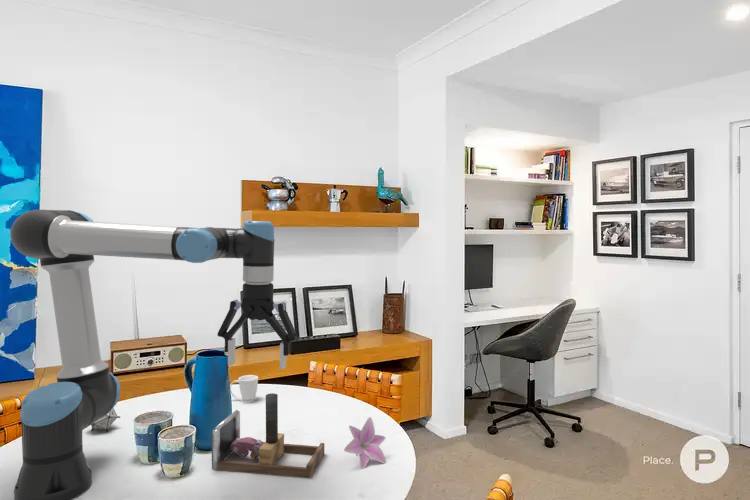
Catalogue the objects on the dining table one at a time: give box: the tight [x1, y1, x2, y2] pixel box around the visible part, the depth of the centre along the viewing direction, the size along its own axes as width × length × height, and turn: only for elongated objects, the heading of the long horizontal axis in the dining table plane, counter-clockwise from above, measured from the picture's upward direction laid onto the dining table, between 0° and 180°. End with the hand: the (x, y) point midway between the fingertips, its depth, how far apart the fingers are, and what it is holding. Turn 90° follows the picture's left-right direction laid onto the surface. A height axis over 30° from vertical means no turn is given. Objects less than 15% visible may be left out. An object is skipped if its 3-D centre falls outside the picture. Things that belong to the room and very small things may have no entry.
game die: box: [90, 407, 121, 433], centre depth 152 cm, size 9×8×10 cm
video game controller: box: [230, 436, 265, 460], centre depth 134 cm, size 10×5×7 cm, turn 76°
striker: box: [258, 392, 285, 465], centre depth 131 cm, size 10×3×17 cm, turn 171°
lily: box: [343, 416, 387, 470], centre depth 133 cm, size 12×12×10 cm
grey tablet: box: [210, 409, 241, 471], centre depth 133 cm, size 14×2×11 cm, turn 171°
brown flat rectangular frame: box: [217, 441, 325, 479], centre depth 132 cm, size 13×24×3 cm, turn 81°
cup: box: [230, 374, 259, 404], centre depth 177 cm, size 7×10×8 cm
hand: (256, 366), depth 129 cm, fingers open, 13 cm apart
